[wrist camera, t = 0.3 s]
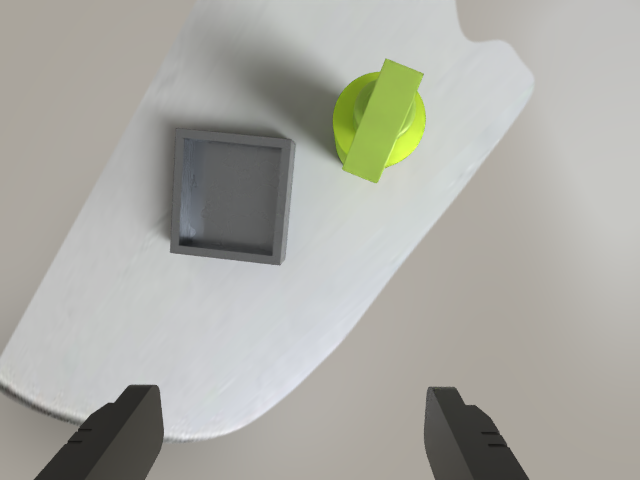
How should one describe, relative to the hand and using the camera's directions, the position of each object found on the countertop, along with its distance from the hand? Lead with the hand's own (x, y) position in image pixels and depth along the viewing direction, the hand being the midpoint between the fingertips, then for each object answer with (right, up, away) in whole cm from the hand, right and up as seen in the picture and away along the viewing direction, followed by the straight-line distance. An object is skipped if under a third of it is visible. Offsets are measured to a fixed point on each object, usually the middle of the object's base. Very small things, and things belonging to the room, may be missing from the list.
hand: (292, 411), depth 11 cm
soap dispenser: (+5, +14, +26) cm, 30 cm away
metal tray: (-7, +9, +27) cm, 30 cm away
